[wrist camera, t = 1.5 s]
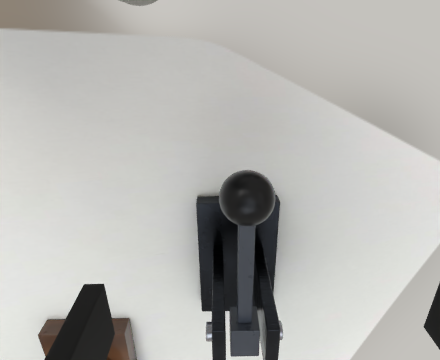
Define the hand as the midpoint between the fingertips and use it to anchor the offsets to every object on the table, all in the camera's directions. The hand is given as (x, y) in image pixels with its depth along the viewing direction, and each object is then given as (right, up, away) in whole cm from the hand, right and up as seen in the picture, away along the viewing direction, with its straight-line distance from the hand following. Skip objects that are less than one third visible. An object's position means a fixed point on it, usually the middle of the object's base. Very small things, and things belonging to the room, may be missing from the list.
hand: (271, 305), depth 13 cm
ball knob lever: (0, -1, +12) cm, 12 cm away
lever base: (0, -3, +22) cm, 22 cm away
